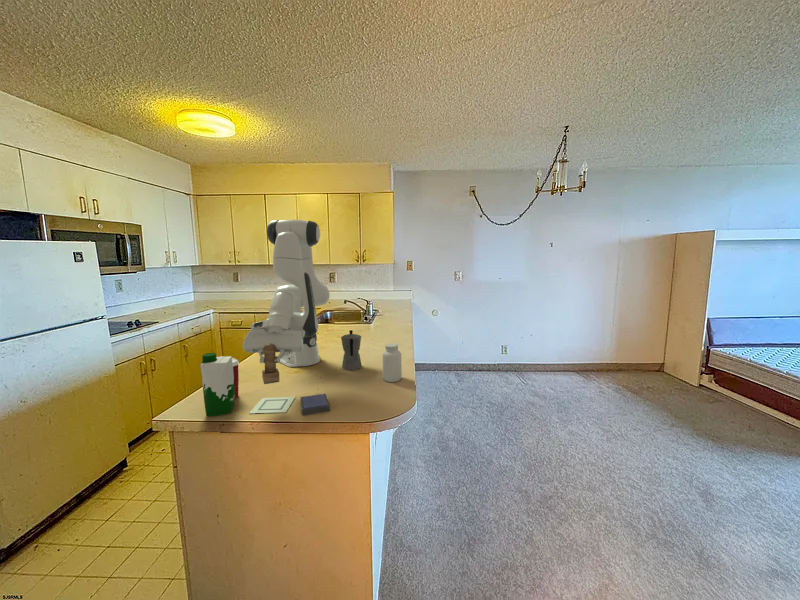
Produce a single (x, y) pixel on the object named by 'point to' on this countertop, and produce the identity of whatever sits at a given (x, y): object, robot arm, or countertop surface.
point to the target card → (273, 405)
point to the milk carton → (217, 384)
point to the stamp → (270, 365)
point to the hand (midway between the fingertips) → (269, 362)
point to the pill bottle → (392, 363)
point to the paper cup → (235, 375)
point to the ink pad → (314, 404)
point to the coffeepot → (351, 351)
